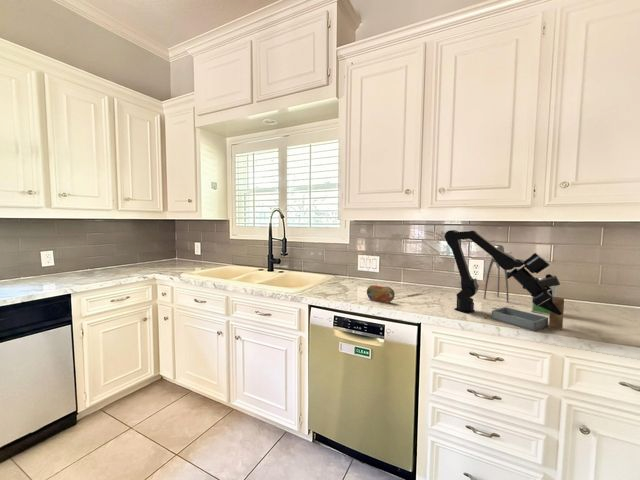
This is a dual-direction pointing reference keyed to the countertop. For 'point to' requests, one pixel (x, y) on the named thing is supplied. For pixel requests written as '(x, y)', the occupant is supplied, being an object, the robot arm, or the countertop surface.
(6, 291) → the countertop surface
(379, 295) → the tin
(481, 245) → the robot arm
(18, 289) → the countertop surface
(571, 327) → the countertop surface
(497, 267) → the juicer
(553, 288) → the skincare box
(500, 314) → the tray
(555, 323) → the brown block
